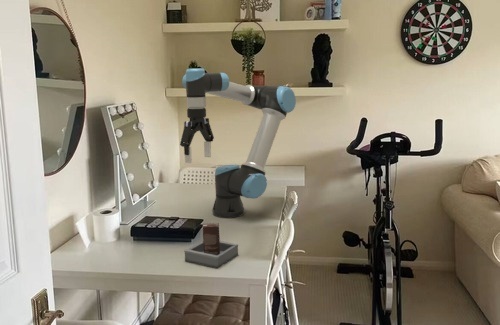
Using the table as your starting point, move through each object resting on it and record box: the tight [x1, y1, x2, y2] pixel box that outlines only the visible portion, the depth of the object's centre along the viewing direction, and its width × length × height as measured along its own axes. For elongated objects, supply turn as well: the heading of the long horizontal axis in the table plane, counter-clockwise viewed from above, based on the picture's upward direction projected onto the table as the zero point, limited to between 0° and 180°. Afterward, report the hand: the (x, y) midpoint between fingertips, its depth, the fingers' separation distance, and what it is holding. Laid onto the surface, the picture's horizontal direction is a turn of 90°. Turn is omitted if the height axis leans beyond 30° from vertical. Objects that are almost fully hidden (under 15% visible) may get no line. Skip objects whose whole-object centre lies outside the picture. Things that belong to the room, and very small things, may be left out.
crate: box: [183, 240, 239, 269], centre depth 183 cm, size 14×14×4 cm
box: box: [202, 222, 221, 255], centre depth 182 cm, size 6×4×12 cm
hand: (198, 160), depth 203 cm, fingers open, 13 cm apart
